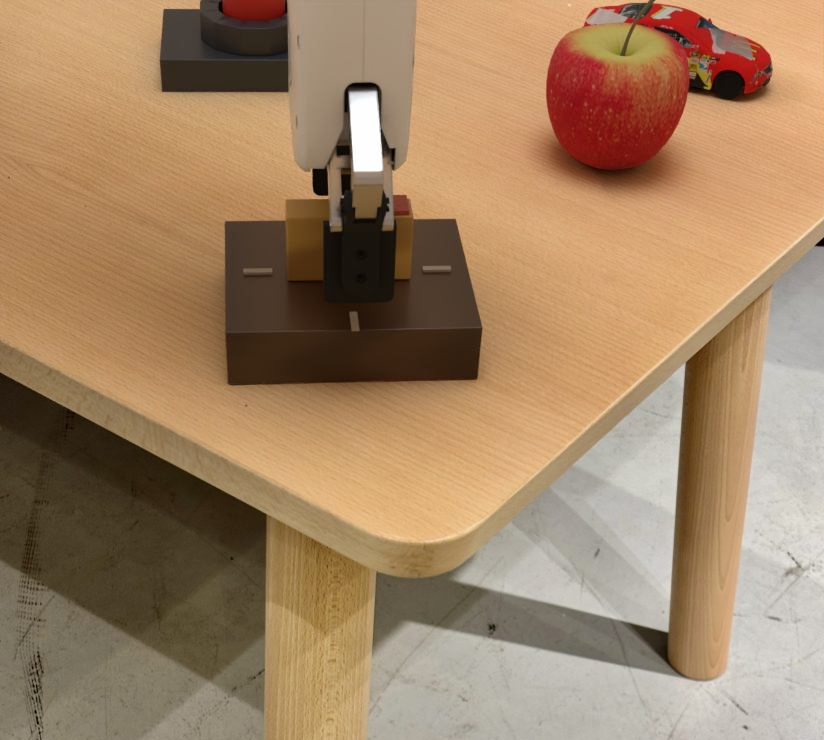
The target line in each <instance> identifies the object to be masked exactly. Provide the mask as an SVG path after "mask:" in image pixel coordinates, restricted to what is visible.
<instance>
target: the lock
mask: <svg viewBox="0 0 824 740" xmlns="http://www.w3.org/2000/svg"><path fill="white" fill-rule="evenodd" d="M393 209H394V219H396V224H397V233H396V257H395V279H410V275H411V257H412V239H413V221H414V219H415V217H414V212H413V207H412V203H411V199H410V198H408V196H407V194H393ZM284 210H285V212H284V214H285V216H284V217H285V219H284V220H285V223H286V268H287V279H288V281H320V280H323V221H324V220H329V198H301V199H299V198H295V199H293V198H292V199H291V198H290V199H285V201H284Z"/></svg>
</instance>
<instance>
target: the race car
mask: <svg viewBox="0 0 824 740" xmlns="http://www.w3.org/2000/svg"><path fill="white" fill-rule="evenodd" d="M646 4H647V2H627V3H623V4H619V5H605V6H599V7H598V6H597V7H594V8H593V9H592V10H591V11H590V12H589V14H587V17H586V18H585V20H584V25H582V27H587V26H592V25H598V24H606V23H632V24H633V22H634V21H635V19H636V17H637V16H638V14H639V13H640V12H641V10H642V9H643V7H644V6H645V5H646ZM637 24H638V25H642V26H646V27H650V28H653V29H656V30H658V31H661V32H663V33H665V34H668V35H669V36H671V37H672V38H674V39H675V40H677V41H678V42H679V43H680V44H681V46H682V47H683V49H684V51H685V52H686V55H687V59H688V64H689V87H692V88H693V87H694V88H700V89H702V90H703V89H704V90H709V91H710V90H711V89H712V87H713V86H714V91H715V93H716V94H717V95H718V96H719V97H720V98H722V99H725V100H733V99H735V98H737V97H738V96H740V95H741V94H742V91H743V94H750V93H754V92H757V91H760V90H761V89H763V88H765V87H766V86H767V85H768V84H769V83H770V81H771V78H772V77H773V72H774V67H773V61H772V57H771V54H770V52H768V51H767V49H766V48H765V47H764V46H763V45H762V44H760V43H758V42H757V41H755V40H753V39H750V38H748V37H746V36H744V35H739V34H736V33H733V32H731V31H728V30H725V29H721V28H720V27H718V26H716V25H715V24H713V21H712V18H710V17H709V18H708V19H707V18H705V17H704V16H703V15H701V14H700V13H698V12H696V11H693V10H691V9H689V8H684V7H682V6H677V5H671V4H664V3H656V2H653V3H652V5H651V6H650V7H649V8H648V9H647V10H646V11H645V13H644V14H643V15H642V16H641V18H640V19H639V21H638V22H637Z"/></svg>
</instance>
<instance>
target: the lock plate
mask: <svg viewBox="0 0 824 740" xmlns="http://www.w3.org/2000/svg"><path fill="white" fill-rule="evenodd" d="M477 304H478V303H477V300H476V296H475V292H474V288H473V283H472V279H471V276H470V272H469V268H468V263H467V260H466V255H465V251H464V248H463V243H462V239H461V235H460V231H459V226H458V222H457V219H456V218H414V221H413V239H412V257H411V275H410V279H395V282H394V297H393V299H392V300H391V301H389V302H384V303H337V304H332V303H328V302H326V301H325V299H324V294H323V280H320V281H288V279H287V268H286V223H285V219H284V220H225V221H224V333H225V334H224V336H225V354H226V355H225V356H226V357H225V358H226V369H227V370H226V372H227V373H226V374H227V375H226V376H227V377H226V378H227V384H228V385H249V384H250V385H257V384H258V385H259V384H301V383H304V384H305V383H343V382H346V383H349V382H390V381H395V382H396V381H429V380H431V381H432V380H433V381H434V380H435V381H436V380H475V379H476V380H477V379H478V378H479V368H480V367H479V366H480V356H481V347H482V346H481V345H482V336H483V324H482V320H481V316H480V312H479V309H478V308H479V307H478V305H477Z"/></svg>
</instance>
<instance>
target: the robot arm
mask: <svg viewBox="0 0 824 740" xmlns="http://www.w3.org/2000/svg"><path fill="white" fill-rule="evenodd" d="M417 9H418V0H287V17H288V90H289V92H288V108H289V118H290V119H289V120H290V122H289V123H290V131H291V132H290V133H291V142H292V143H291V144H292V151H293V160H294V162H295V164H296V165H297V167H298V168H300V169H301V170H302V171H303V172H305V173H311V172H312V173H311V176H312V177H311V179H312V180H311V181H312V182H311V183H312V184H311V185H312V191H313V194H315V195H316V196H318V197H319V196H320V197H328V199H329V220H324V221H323V294H324V299H325V301H326V302H328V303H332V304H337V303H384V302H389V301H391V300H392V299H393V297H394V282H395V257H396V233H397V224H396V219H394V209H393V195H394V183H393V181H394V180H393V172H394V171H396V170H398V169H399V168H401V167H402V166H403V165H404V164H405V163H406V161H407V157H408V151H409V142H410V129H411V118H412V104H413V93H414V91H413V90H414V89H413V88H414V86H413V85H414V74H415V57H416V56H415V55H416V34H417V32H416V31H417V14H418V13H417V12H418V10H417Z"/></svg>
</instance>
